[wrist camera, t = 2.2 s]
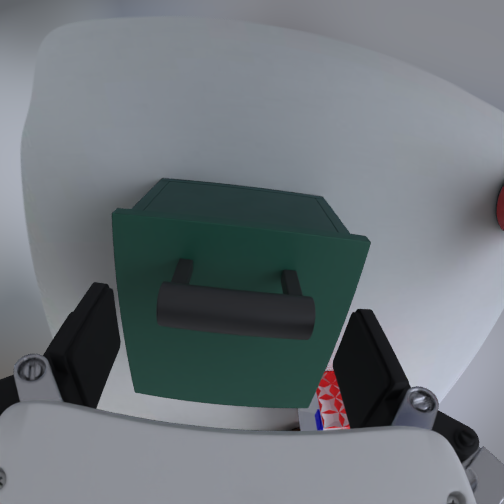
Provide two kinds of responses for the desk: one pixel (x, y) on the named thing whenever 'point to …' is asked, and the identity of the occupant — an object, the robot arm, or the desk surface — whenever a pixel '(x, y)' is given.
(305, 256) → the lid
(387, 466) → the robot arm
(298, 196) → the box
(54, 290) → the desk surface
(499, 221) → the beer can
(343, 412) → the puzzle cube
